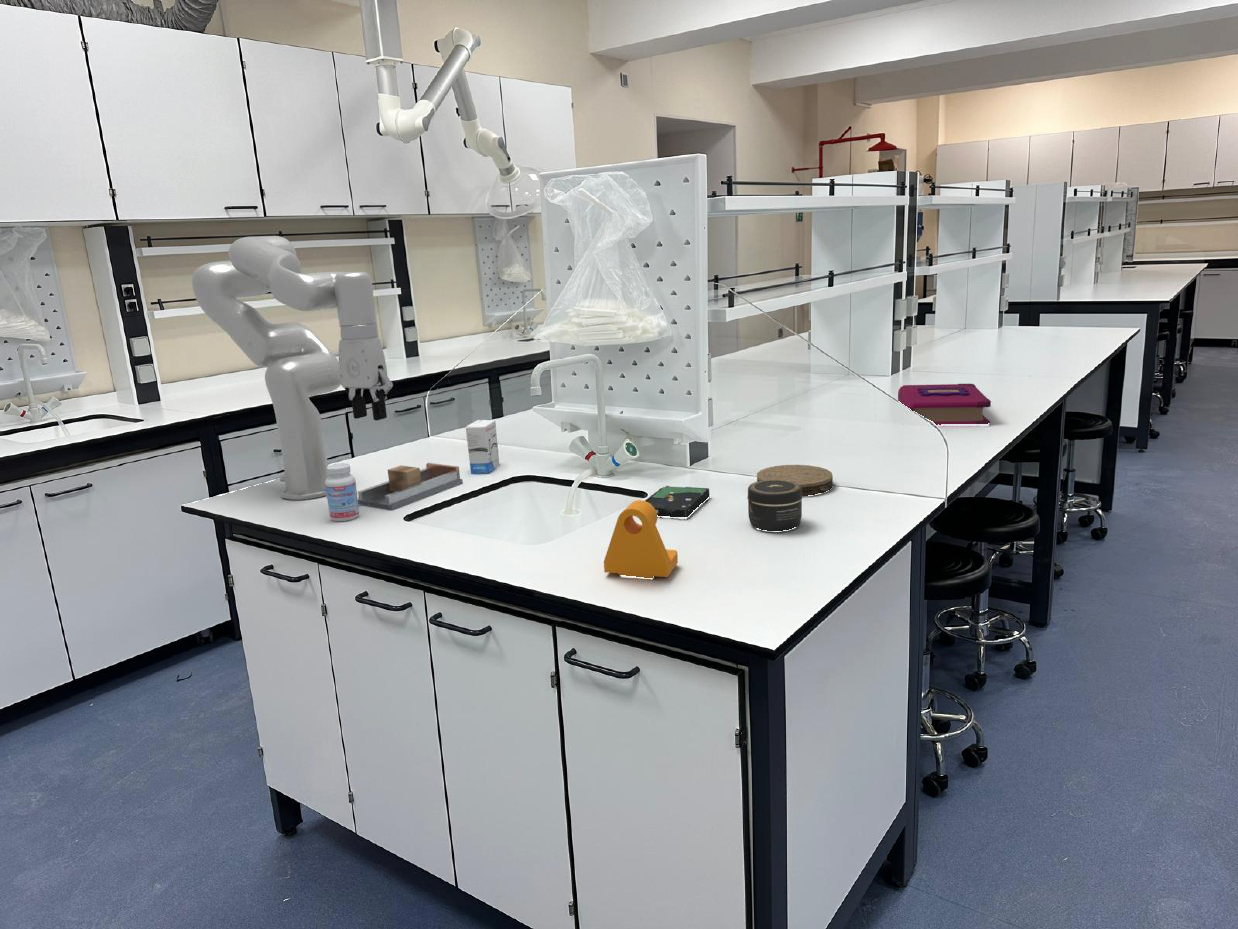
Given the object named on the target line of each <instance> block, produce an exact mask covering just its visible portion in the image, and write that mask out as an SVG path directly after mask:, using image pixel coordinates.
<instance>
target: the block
mask: <svg viewBox="0 0 1238 929" xmlns="http://www.w3.org/2000/svg"><path fill="white" fill-rule="evenodd" d="M420 470H421V469H420V467H418V466H409V465H397V466H395V467H391V468H388V469H387V477H388V481H389V485H390V491H393V492H397V491H399V490H402V489H405V488H408V487H410V486H413V485H416V484H419V483H421V474H420Z"/></svg>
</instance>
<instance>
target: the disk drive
mask: <svg viewBox="0 0 1238 929" xmlns="http://www.w3.org/2000/svg"><path fill="white" fill-rule="evenodd" d="M708 497H709V498H710V488H709V487H708V488H707V487H691V486H670V485H666V486H662V487H661V488H659V489H658V490H657V491H655V492H654V493H653V494H652V495H650V496H649V497H648V498H647V499H645V500H644V501H646V502H648V503H650V504H651V505H652V506H653V507H654V508H655V510H656V512H657V515H658V516H670V517H688V516H689V515H690V514H691V513H692V512H693V510H695V509H696V508H697V507H699V505H700V504H701V503H703V502H704V501H705V500H706V499H707V498H708Z"/></svg>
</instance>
